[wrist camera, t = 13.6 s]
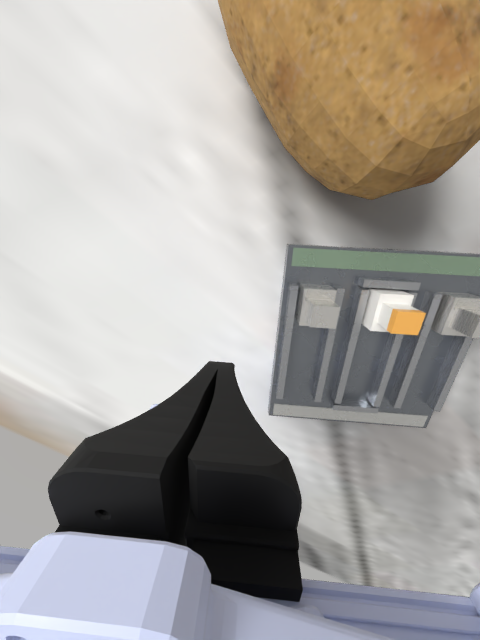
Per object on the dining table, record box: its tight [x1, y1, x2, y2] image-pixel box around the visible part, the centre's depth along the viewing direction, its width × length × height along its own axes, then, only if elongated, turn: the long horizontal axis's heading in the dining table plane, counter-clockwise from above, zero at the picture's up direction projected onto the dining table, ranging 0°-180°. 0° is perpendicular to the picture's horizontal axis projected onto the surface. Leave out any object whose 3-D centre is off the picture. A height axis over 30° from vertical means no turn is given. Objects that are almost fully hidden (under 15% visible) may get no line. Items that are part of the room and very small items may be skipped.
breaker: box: [361, 288, 426, 335], centre depth 17 cm, size 3×2×4 cm
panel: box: [268, 244, 480, 428], centre depth 19 cm, size 17×16×5 cm
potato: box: [218, 0, 480, 200], centre depth 11 cm, size 9×16×9 cm, turn 34°
